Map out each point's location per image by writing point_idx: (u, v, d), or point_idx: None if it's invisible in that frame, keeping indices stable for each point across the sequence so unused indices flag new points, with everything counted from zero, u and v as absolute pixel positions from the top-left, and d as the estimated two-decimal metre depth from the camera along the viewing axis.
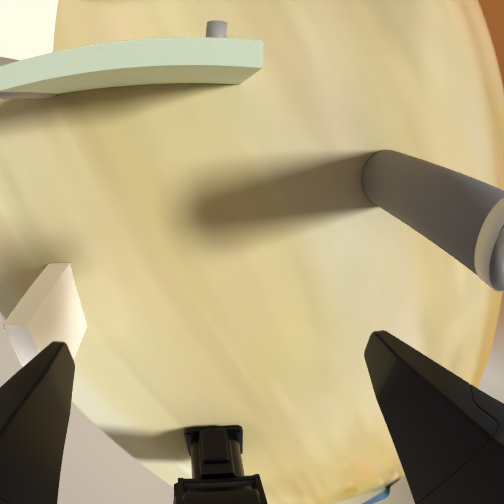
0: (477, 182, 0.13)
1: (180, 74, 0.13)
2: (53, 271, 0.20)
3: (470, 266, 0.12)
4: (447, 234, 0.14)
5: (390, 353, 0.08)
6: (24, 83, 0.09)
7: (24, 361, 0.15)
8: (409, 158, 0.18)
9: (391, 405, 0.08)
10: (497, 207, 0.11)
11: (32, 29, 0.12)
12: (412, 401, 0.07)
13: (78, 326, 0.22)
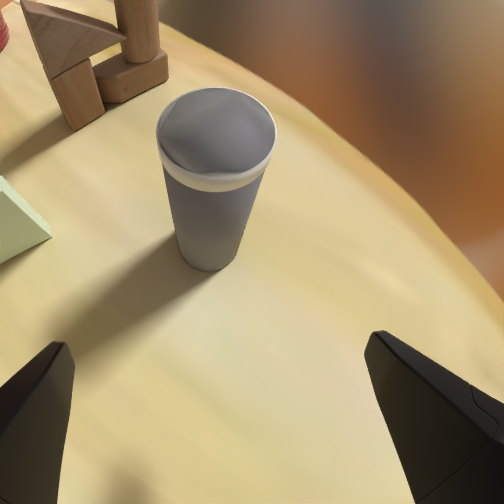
0: None
1: None
2: None
3: (194, 193, 0.12)
4: (174, 199, 0.14)
5: (390, 353, 0.08)
6: None
7: None
8: None
9: (391, 405, 0.08)
10: None
11: None
12: (412, 401, 0.07)
13: None
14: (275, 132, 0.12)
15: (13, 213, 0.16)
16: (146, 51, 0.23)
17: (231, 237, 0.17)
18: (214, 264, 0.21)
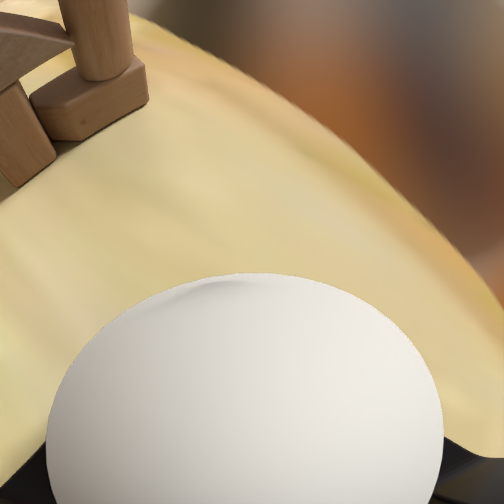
0: None
1: None
2: None
3: None
4: None
5: None
6: None
7: None
8: None
9: None
10: None
11: None
12: None
13: None
14: (439, 453, 0.03)
15: None
16: (109, 62, 0.14)
17: None
18: None
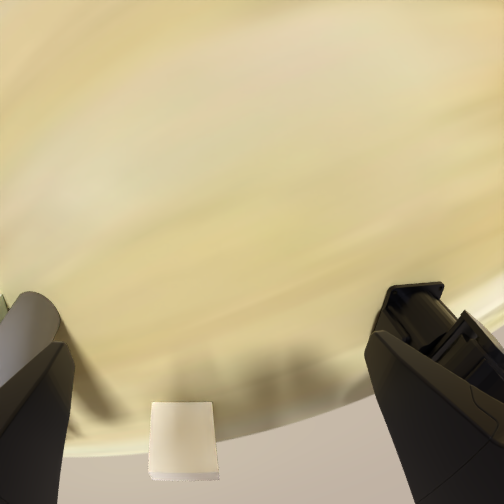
0: None
1: None
2: None
3: None
4: None
5: (390, 353, 0.08)
6: None
7: (183, 479, 0.22)
8: None
9: (391, 405, 0.08)
10: None
11: None
12: (412, 401, 0.07)
13: (200, 415, 0.27)
14: None
15: None
16: None
17: (24, 358, 0.16)
18: (50, 326, 0.20)
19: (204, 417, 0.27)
